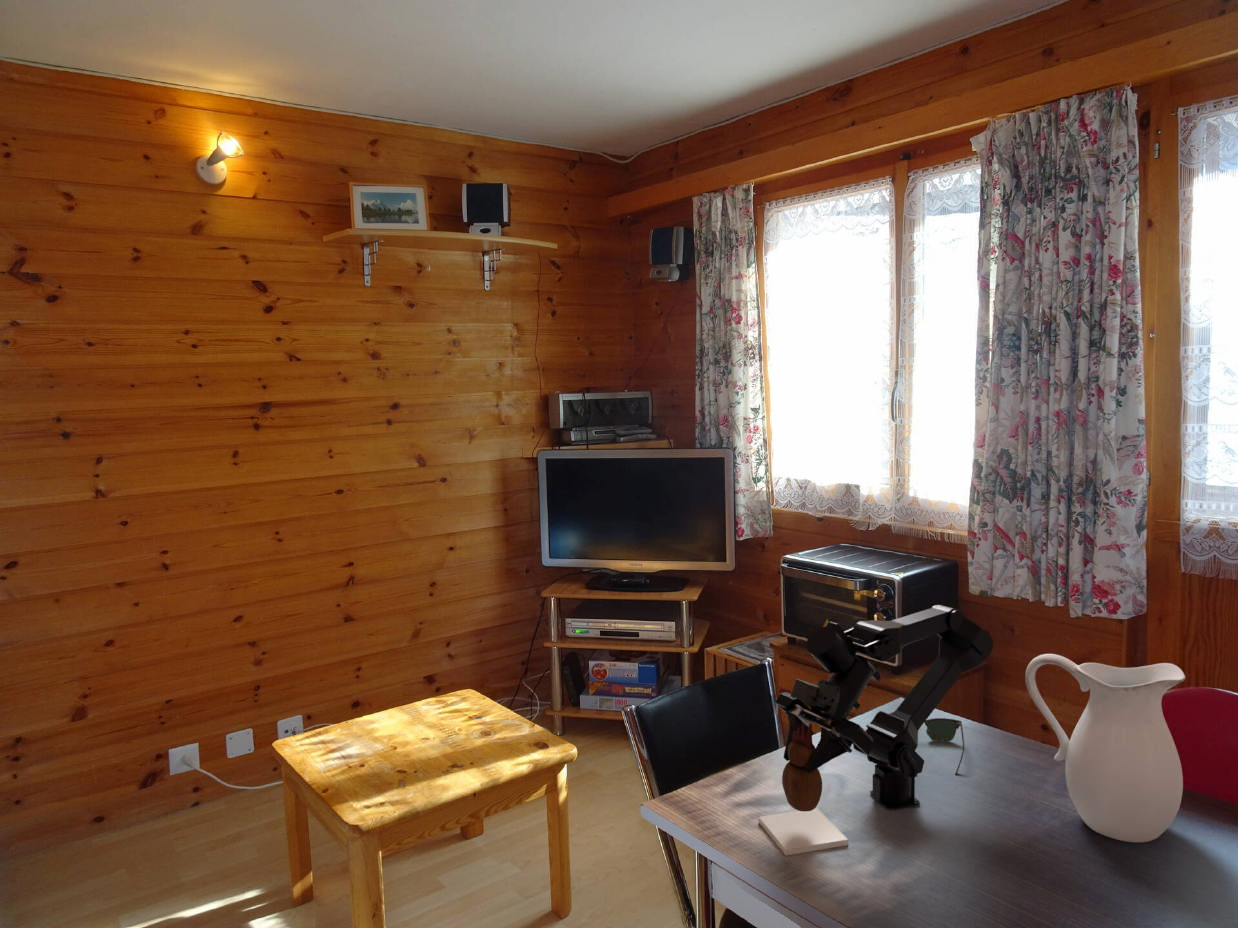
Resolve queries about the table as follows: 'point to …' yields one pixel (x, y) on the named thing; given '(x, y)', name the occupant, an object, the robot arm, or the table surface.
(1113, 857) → the table surface
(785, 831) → the display tile
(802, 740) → the wooden figurine
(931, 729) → the sunglasses
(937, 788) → the table surface
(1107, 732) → the pitcher
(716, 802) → the table surface
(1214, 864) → the table surface
